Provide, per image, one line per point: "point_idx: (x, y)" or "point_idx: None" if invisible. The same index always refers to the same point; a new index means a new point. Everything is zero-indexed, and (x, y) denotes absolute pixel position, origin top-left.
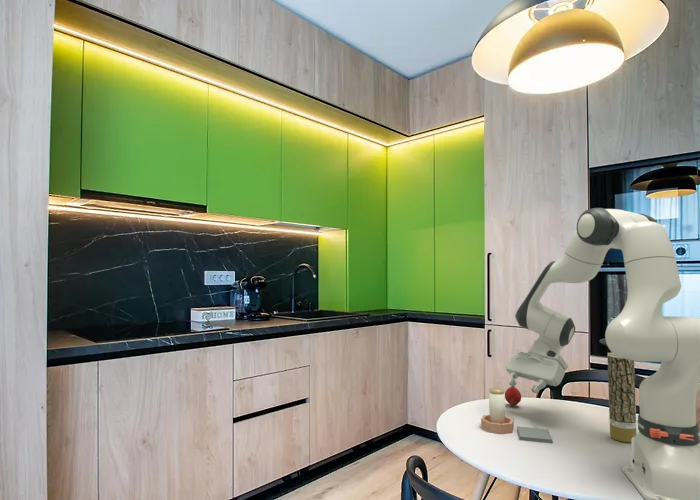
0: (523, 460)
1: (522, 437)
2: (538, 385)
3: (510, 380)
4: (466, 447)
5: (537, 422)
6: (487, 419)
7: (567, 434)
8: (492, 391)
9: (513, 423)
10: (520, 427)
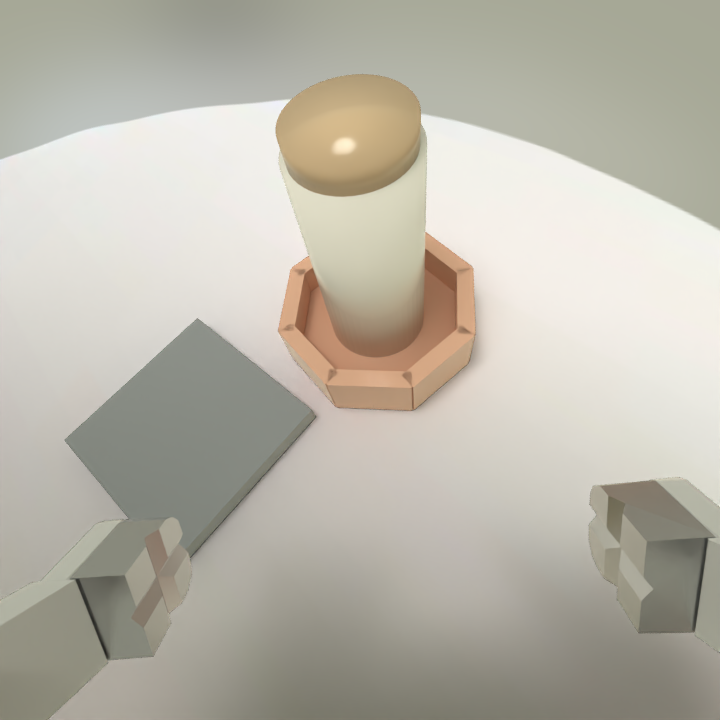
0: (81, 221)
1: (189, 329)
2: (2, 599)
3: (703, 506)
4: (269, 127)
5: (357, 686)
6: (455, 298)
7: None
8: (337, 85)
9: (326, 390)
10: (285, 412)
